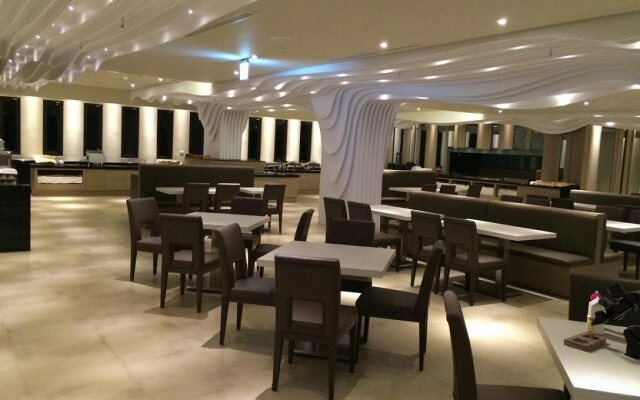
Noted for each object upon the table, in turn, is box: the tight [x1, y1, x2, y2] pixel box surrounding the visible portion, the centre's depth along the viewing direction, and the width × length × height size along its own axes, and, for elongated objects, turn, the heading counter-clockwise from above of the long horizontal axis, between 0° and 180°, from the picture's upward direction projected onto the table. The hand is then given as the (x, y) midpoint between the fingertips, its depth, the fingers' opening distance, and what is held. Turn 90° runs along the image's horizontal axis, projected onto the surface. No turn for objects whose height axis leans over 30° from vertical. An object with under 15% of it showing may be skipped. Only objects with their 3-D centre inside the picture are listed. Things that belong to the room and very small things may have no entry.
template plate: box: [563, 331, 607, 352], centre depth 270 cm, size 22×11×2 cm, turn 129°
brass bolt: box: [586, 313, 596, 340], centre depth 273 cm, size 5×5×14 cm
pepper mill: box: [586, 290, 603, 319], centre depth 301 cm, size 7×7×20 cm
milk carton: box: [586, 296, 607, 335], centre depth 290 cm, size 7×7×19 cm
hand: (596, 323), depth 271 cm, fingers open, 9 cm apart
